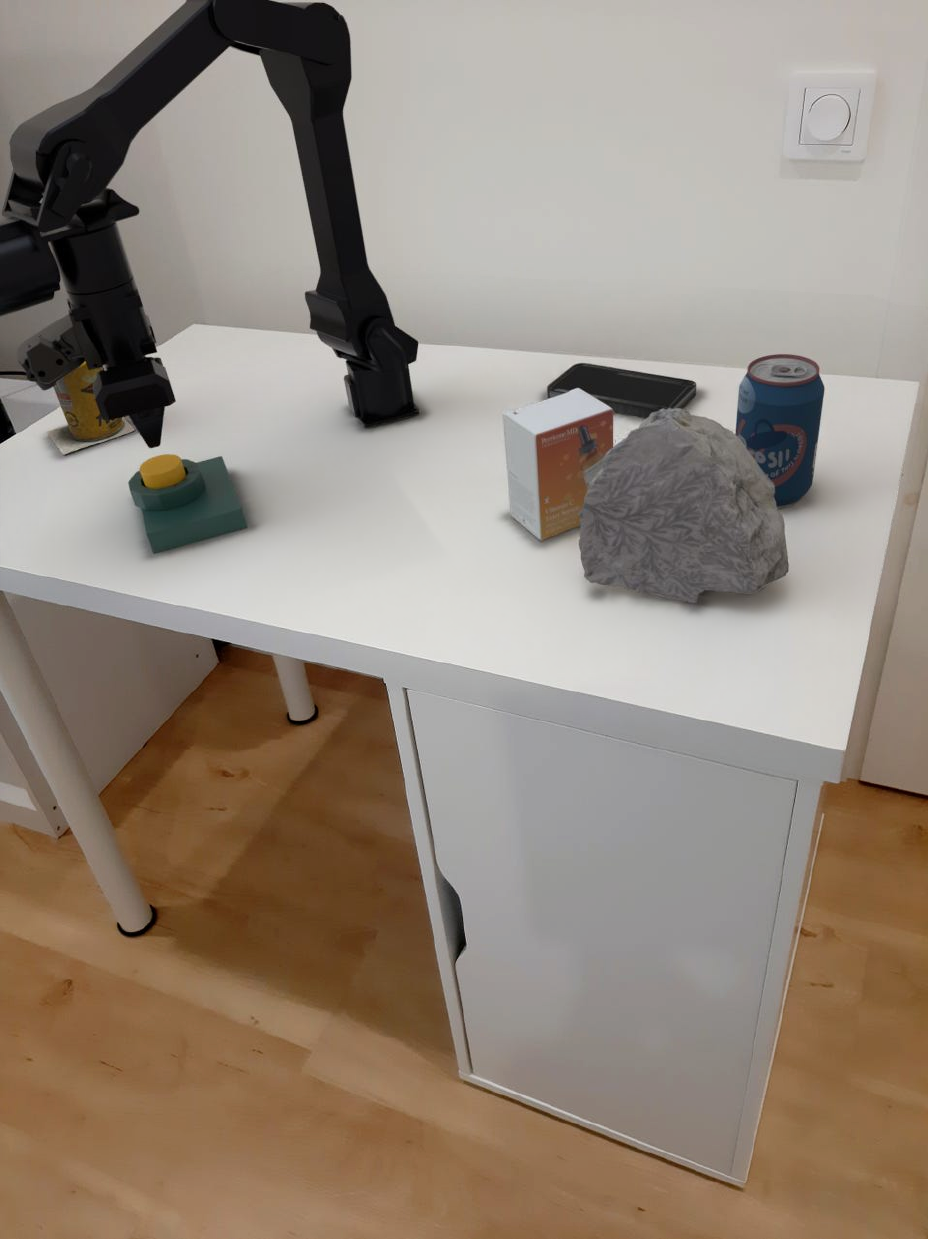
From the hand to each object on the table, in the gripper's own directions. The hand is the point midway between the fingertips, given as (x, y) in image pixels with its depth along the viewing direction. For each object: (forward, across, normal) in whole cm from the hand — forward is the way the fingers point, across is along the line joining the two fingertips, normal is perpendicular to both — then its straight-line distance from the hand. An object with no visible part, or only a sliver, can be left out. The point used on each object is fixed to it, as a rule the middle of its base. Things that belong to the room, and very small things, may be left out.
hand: (154, 445), depth 93 cm
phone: (+7, +1, +49) cm, 50 cm away
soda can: (+8, +26, +51) cm, 58 cm away
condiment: (+8, -24, -7) cm, 26 cm away
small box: (+8, +20, +33) cm, 39 cm away
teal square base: (+7, +1, +2) cm, 8 cm away
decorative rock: (+8, +34, +37) cm, 51 cm away
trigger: (+4, 0, 0) cm, 4 cm away
